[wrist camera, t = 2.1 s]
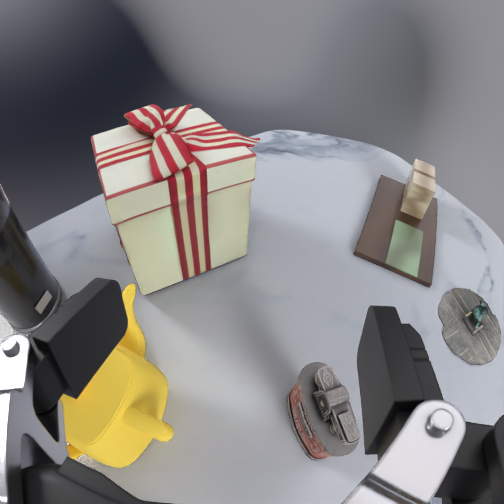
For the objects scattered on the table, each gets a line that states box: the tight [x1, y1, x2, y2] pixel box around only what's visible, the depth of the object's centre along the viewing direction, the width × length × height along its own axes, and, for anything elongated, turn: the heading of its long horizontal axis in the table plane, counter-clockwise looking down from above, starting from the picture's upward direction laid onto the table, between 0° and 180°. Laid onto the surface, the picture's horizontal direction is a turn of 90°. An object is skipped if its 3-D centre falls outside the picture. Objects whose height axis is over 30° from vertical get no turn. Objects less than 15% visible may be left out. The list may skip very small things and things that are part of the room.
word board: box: [354, 159, 437, 287], centre depth 42 cm, size 12×22×7 cm, turn 152°
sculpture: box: [439, 288, 501, 365], centre depth 33 cm, size 12×9×8 cm
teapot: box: [60, 284, 173, 468], centre depth 22 cm, size 14×13×10 cm
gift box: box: [91, 104, 260, 295], centre depth 35 cm, size 17×18×17 cm
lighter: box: [287, 362, 360, 460], centre depth 22 cm, size 8×3×10 cm, turn 16°
